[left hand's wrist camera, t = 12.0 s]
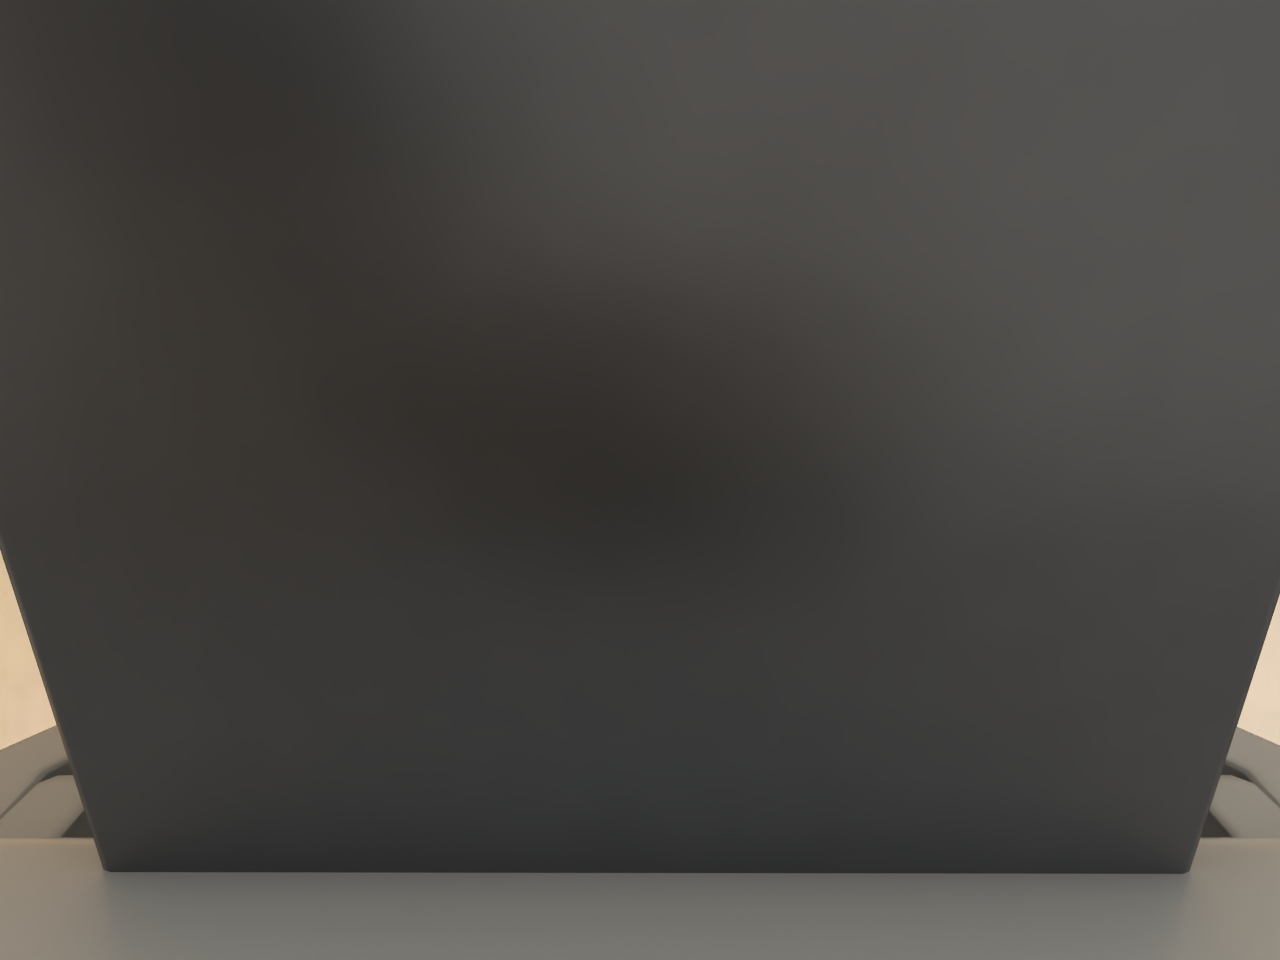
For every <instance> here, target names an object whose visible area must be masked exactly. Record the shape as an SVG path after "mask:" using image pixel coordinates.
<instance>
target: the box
mask: <svg viewBox="0 0 1280 960" xmlns="http://www.w3.org/2000/svg"><path fill="white" fill-rule="evenodd" d="M0 550H1V553H2V556H3V559H4V562H5V565H6V569H7V572H8V575H9V578H10V581H11V584H12V587H13V590H14V593H15V596H16V600H17V603H18V606H19V609H20V612H21V615H22V618H23V621H24V624H25V628H26V631H27V634H28V637H29V640H30V643H31V646H32V649H33V652H34V655H35V659H36V662H37V665H38V668H39V671H40V674H41V677H42V680H43V683H44V687H45V690H46V693H47V696H48V699H49V702H50V705H51V708H52V711H53V715H54V718H55V721H56V724H57V727H58V730H59V733H60V736H61V739H62V742H63V746H64V749H65V752H66V755H67V758H68V761H69V764H70V767H71V770H72V774H73V777H74V780H75V783H76V786H77V789H78V792H79V795H80V798H81V801H82V805H83V808H84V811H85V814H86V817H87V820H88V823H89V826H90V829H91V833H92V836H93V839H94V842H95V845H96V848H97V851H98V854H99V857H100V860H101V864H102V867H103V870H106V871H109V872H328V873H948V874H1184V873H1186V872H1189V871H1190V868H1191V865H1192V862H1193V859H1194V856H1195V853H1196V850H1197V847H1198V844H1199V840H1200V837H1201V834H1202V831H1203V828H1204V825H1205V822H1206V819H1207V816H1208V813H1209V810H1210V807H1211V804H1212V800H1213V797H1214V794H1215V791H1216V788H1217V785H1218V782H1219V779H1220V776H1221V773H1222V770H1223V767H1224V764H1225V760H1226V757H1227V754H1228V751H1229V748H1230V745H1231V742H1232V739H1233V736H1234V733H1235V730H1236V727H1237V724H1238V720H1239V717H1240V714H1241V711H1242V708H1243V705H1244V702H1245V699H1246V696H1247V693H1248V690H1249V687H1250V684H1251V680H1252V677H1253V674H1254V671H1255V668H1256V665H1257V662H1258V659H1259V656H1260V653H1261V650H1262V647H1263V644H1264V640H1265V637H1266V634H1267V631H1268V628H1269V625H1270V622H1271V619H1272V616H1273V613H1274V610H1275V607H1276V604H1277V600H1278V597H1279V594H1280V0H0Z"/></svg>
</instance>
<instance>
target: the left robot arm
mask: <svg viewBox="0 0 1280 960" xmlns="http://www.w3.org/2000/svg"><path fill="white" fill-rule="evenodd" d="M0 960H1280V746H1279V745H1277V744H1275V743H1273V742H1270V741H1268V740H1266V739H1263V738H1261V737H1259V736H1257V735H1254V734H1252V733H1250V732H1248V731H1245V730H1243V729H1241V728H1238V727H1236V730H1235V733H1234V736H1233V739H1232V742H1231V745H1230V748H1229V751H1228V754H1227V757H1226V760H1225V764H1224V767H1223V770H1222V773H1221V776H1220V779H1219V782H1218V785H1217V788H1216V791H1215V794H1214V797H1213V800H1212V804H1211V807H1210V810H1209V813H1208V816H1207V819H1206V822H1205V825H1204V828H1203V831H1202V834H1201V837H1200V840H1199V844H1198V847H1197V850H1196V853H1195V856H1194V859H1193V862H1192V865H1191V868H1190V871H1189V872H1186V873H1184V874H948V873H328V872H109V871H106V870H103V867H102V864H101V860H100V857H99V854H98V851H97V848H96V845H95V842H94V839H93V836H92V833H91V829H90V826H89V823H88V820H87V817H86V814H85V811H84V808H83V805H82V801H81V798H80V795H79V792H78V789H77V786H76V783H75V780H74V777H73V774H72V770H71V767H70V764H69V761H68V758H67V755H66V752H65V749H64V746H63V742H62V739H61V736H60V733H59V730H58V727H57V725H56V726H54V727H52V728H49V729H47V730H45V731H42V732H40V733H38V734H36V735H33V736H31V737H29V738H27V739H24V740H22V741H20V742H18V743H15V744H13V745H11V746H9V747H6V748H4V749H2V750H0Z"/></svg>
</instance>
